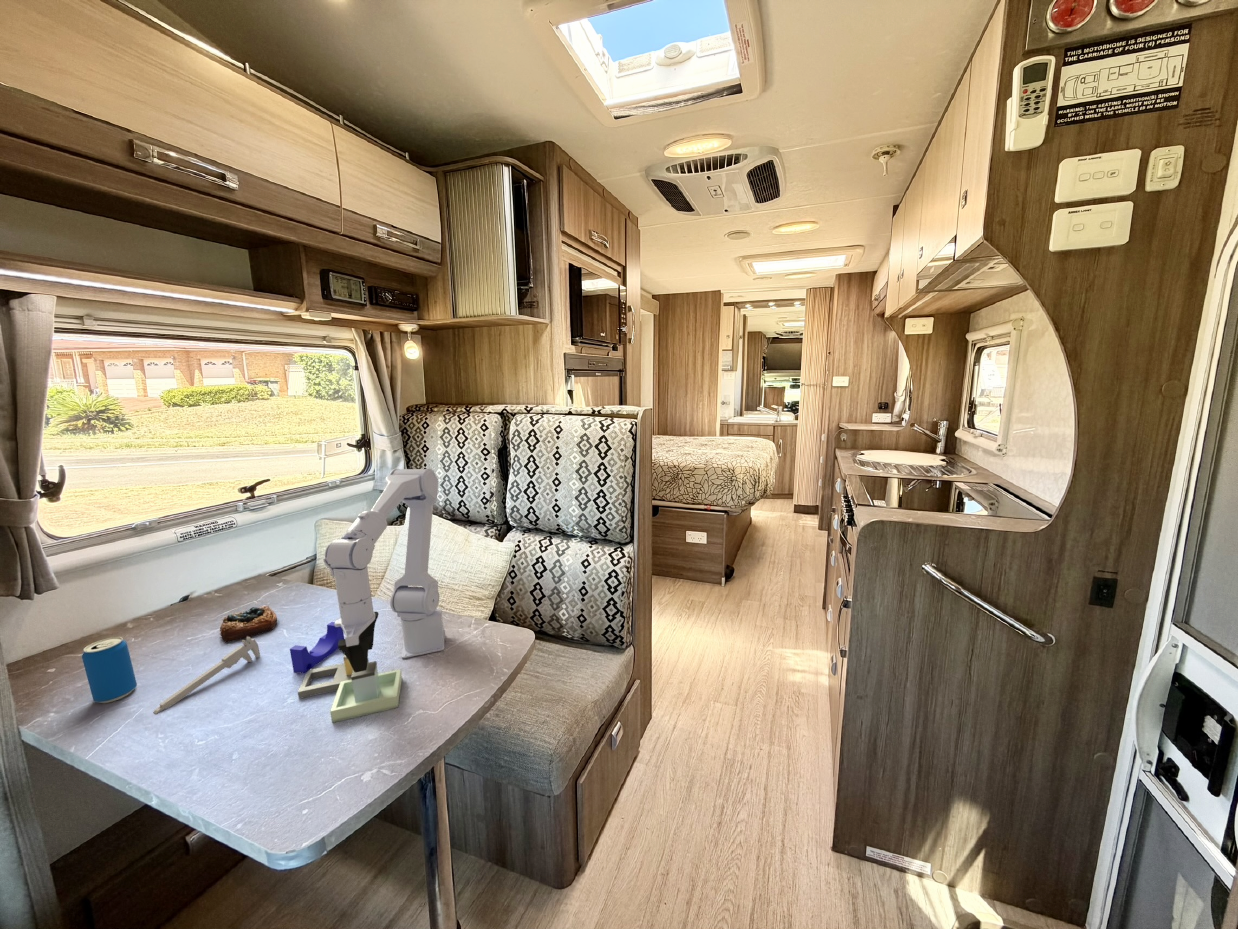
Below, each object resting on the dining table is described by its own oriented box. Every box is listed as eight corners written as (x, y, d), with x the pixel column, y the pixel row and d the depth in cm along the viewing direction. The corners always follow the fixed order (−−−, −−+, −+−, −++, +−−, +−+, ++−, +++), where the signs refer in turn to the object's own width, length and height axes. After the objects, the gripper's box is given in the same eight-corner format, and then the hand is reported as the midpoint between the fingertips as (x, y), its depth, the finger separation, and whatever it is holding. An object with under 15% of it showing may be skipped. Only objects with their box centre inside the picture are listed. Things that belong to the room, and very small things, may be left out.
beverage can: (105, 690, 102) (92, 640, 100) (143, 682, 105) (132, 633, 103) (86, 709, 97) (72, 656, 94) (128, 700, 99) (115, 648, 97)
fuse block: (368, 664, 109) (365, 640, 108) (363, 684, 102) (359, 660, 101) (309, 676, 105) (305, 652, 104) (298, 698, 98) (294, 673, 97)
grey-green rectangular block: (380, 689, 99) (376, 661, 98) (378, 701, 96) (374, 672, 94) (358, 694, 98) (354, 665, 97) (355, 706, 94) (351, 677, 93)
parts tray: (402, 679, 103) (400, 669, 103) (397, 707, 94) (396, 696, 94) (342, 692, 100) (340, 681, 99) (332, 723, 91) (330, 711, 90)
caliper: (257, 657, 114) (253, 633, 113) (260, 657, 114) (256, 634, 112) (153, 714, 95) (146, 686, 94) (156, 715, 95) (150, 687, 93)
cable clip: (329, 643, 119) (326, 621, 118) (345, 644, 118) (342, 622, 117) (288, 672, 107) (284, 648, 106) (304, 674, 107) (300, 650, 105)
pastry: (222, 629, 127) (218, 609, 126) (276, 614, 135) (273, 595, 134) (220, 646, 119) (216, 625, 118) (278, 630, 126) (275, 610, 125)
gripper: (339, 586, 98) (348, 645, 101) (322, 618, 85) (333, 686, 87) (377, 580, 101) (384, 638, 103) (366, 611, 87) (375, 677, 90)
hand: (363, 659), depth 95 cm, fingers open, 7 cm apart
